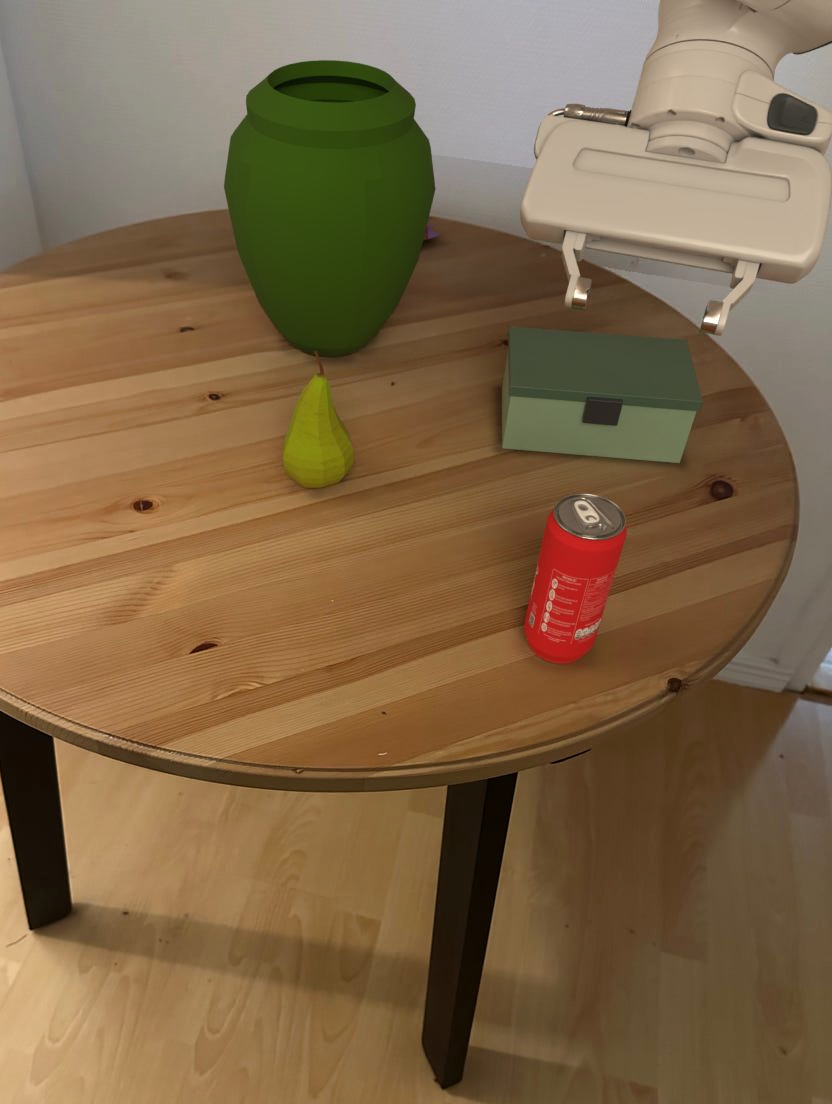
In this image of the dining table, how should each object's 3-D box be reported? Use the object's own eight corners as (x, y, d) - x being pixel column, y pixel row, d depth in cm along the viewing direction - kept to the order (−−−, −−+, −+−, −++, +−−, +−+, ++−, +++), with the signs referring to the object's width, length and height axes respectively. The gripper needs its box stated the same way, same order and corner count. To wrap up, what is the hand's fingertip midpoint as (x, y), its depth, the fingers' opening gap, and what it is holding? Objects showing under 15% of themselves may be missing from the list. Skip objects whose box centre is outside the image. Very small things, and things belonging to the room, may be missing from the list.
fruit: (319, 512, 83) (320, 387, 74) (266, 481, 85) (261, 357, 77) (368, 478, 86) (375, 354, 77) (316, 450, 89) (316, 327, 80)
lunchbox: (667, 398, 96) (686, 336, 91) (683, 468, 88) (704, 404, 84) (499, 385, 97) (509, 323, 92) (499, 453, 89) (510, 389, 84)
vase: (437, 308, 107) (462, 59, 90) (399, 403, 94) (419, 133, 77) (266, 282, 110) (258, 36, 93) (206, 372, 97) (183, 104, 80)
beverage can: (538, 673, 71) (569, 546, 62) (511, 623, 74) (537, 496, 65) (604, 661, 72) (644, 534, 63) (574, 612, 75) (608, 485, 66)
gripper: (545, 74, 67) (492, 275, 67) (862, 118, 63) (803, 332, 63) (546, 123, 73) (498, 306, 74) (835, 166, 69) (781, 360, 69)
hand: (641, 319), depth 68 cm, fingers open, 8 cm apart
